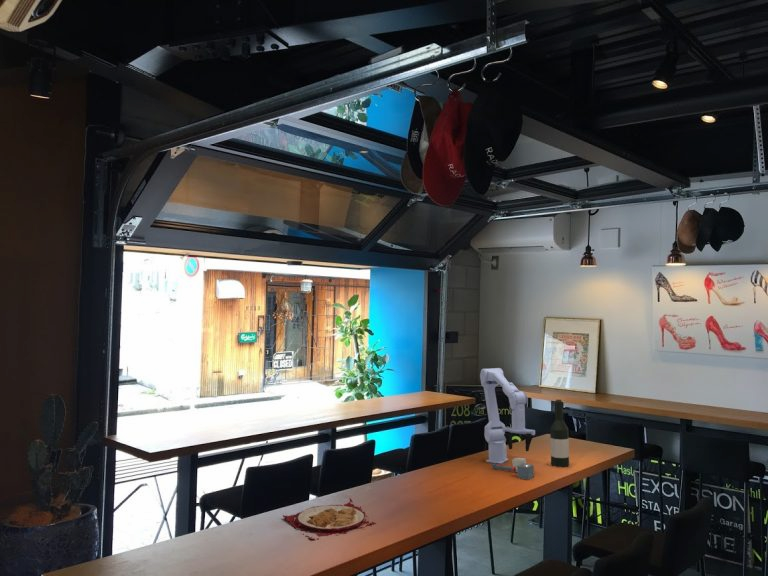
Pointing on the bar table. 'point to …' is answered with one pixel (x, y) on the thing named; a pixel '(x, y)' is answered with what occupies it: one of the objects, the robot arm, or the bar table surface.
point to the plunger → (514, 469)
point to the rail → (501, 467)
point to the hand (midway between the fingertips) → (518, 449)
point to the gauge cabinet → (525, 471)
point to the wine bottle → (559, 438)
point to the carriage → (518, 461)
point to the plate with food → (329, 519)
